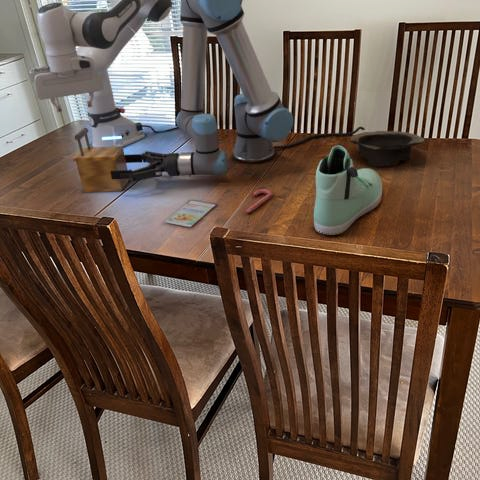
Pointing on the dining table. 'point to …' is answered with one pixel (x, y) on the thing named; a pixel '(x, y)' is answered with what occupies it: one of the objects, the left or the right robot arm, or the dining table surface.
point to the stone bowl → (385, 146)
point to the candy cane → (261, 201)
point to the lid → (94, 150)
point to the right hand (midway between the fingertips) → (117, 166)
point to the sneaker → (343, 192)
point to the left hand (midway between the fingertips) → (75, 109)
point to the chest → (102, 174)
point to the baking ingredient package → (190, 213)
